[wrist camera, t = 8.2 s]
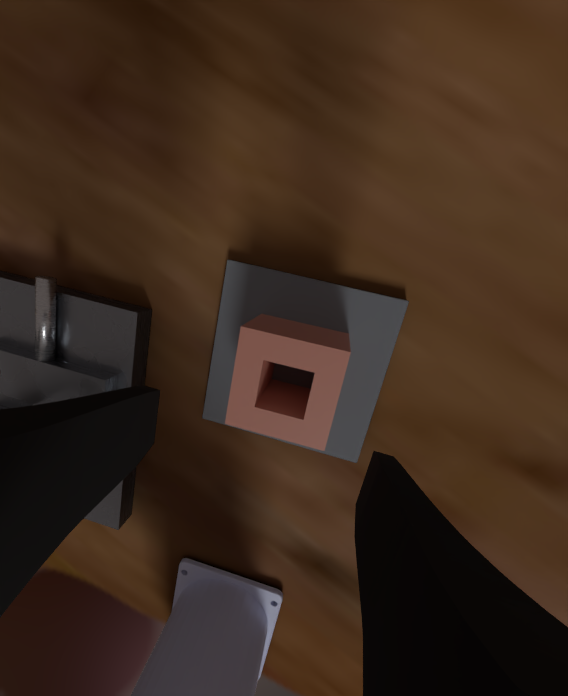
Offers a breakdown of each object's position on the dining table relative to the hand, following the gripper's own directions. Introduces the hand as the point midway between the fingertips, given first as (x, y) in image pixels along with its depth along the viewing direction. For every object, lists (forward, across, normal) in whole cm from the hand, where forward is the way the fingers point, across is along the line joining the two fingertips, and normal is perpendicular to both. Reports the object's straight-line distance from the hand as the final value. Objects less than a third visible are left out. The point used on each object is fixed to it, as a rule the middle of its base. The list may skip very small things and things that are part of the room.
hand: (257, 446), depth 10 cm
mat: (+9, 0, 0) cm, 9 cm away
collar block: (+9, 0, 0) cm, 9 cm away
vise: (+9, +15, +7) cm, 19 cm away
